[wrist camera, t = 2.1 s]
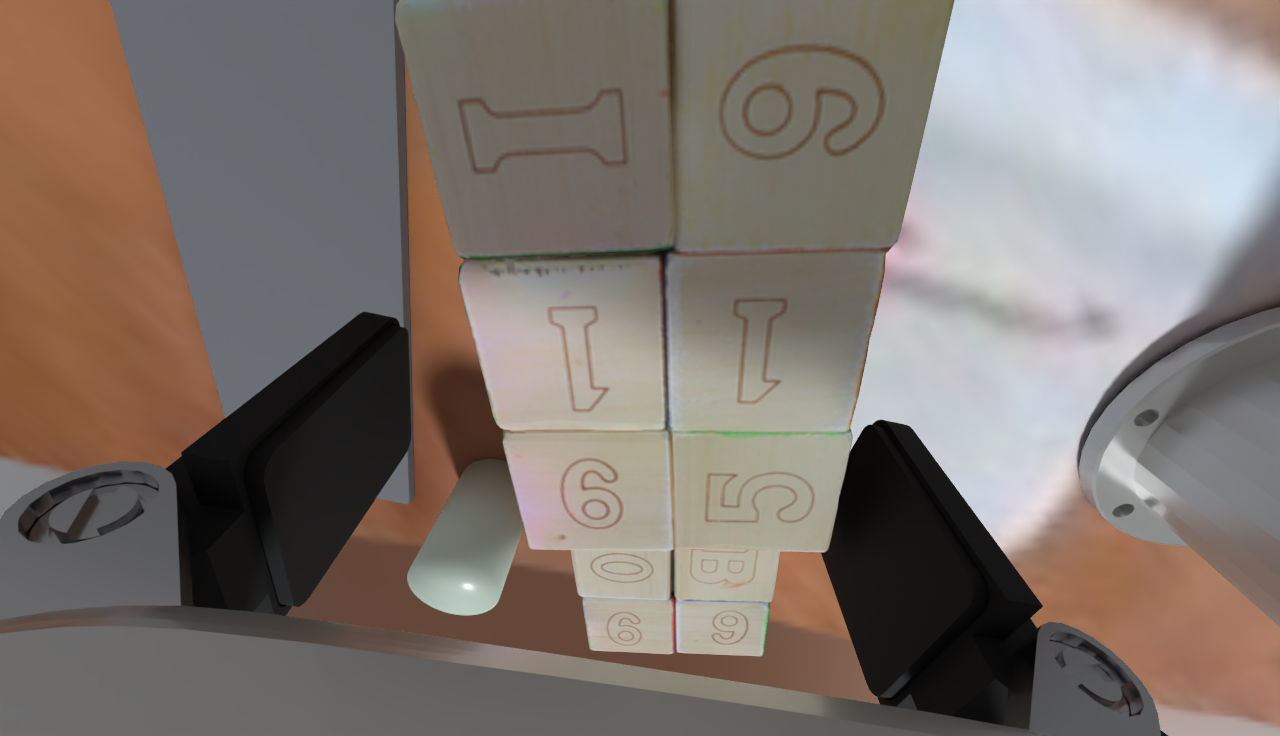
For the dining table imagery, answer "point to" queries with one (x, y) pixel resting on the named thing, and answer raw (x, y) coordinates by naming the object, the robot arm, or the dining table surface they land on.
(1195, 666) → the dining table surface
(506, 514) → the mint green capsule
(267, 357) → the mat
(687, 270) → the stack of blocks
